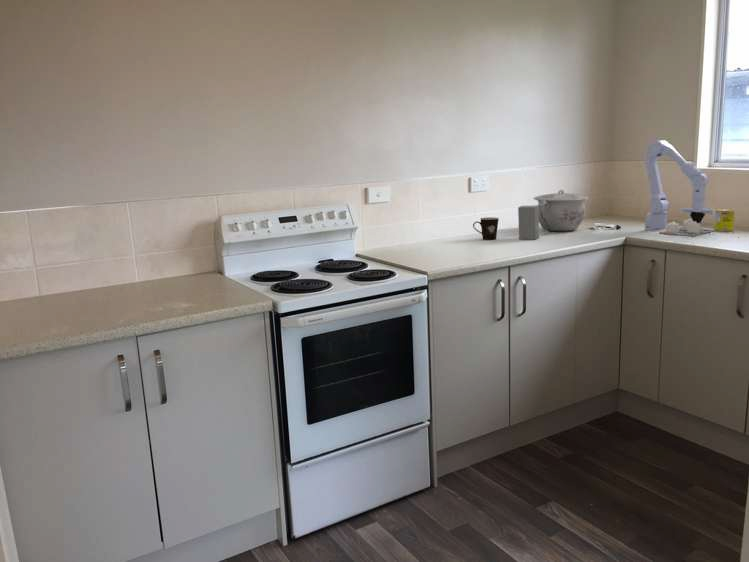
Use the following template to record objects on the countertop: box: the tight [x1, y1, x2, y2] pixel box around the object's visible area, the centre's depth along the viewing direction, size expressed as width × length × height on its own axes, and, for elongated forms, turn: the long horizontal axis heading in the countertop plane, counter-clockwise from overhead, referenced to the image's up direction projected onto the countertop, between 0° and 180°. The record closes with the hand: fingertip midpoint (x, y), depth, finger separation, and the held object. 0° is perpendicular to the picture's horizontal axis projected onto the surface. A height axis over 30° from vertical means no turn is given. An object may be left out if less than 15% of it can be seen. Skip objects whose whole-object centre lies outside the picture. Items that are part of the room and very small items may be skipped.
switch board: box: [658, 226, 718, 238], centre depth 312 cm, size 16×24×2 cm, turn 130°
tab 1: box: [665, 221, 680, 234], centre depth 310 cm, size 4×4×5 cm
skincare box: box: [517, 204, 540, 240], centre depth 315 cm, size 8×7×16 cm
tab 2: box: [682, 218, 693, 230], centre depth 318 cm, size 4×4×5 cm
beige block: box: [687, 221, 701, 233], centre depth 310 cm, size 4×4×5 cm
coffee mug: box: [472, 216, 500, 241], centre depth 319 cm, size 12×9×10 cm
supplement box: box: [714, 209, 735, 232], centre depth 315 cm, size 6×6×11 cm
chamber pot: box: [533, 189, 590, 233], centre depth 341 cm, size 28×28×21 cm
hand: (696, 228), depth 316 cm, fingers closed
